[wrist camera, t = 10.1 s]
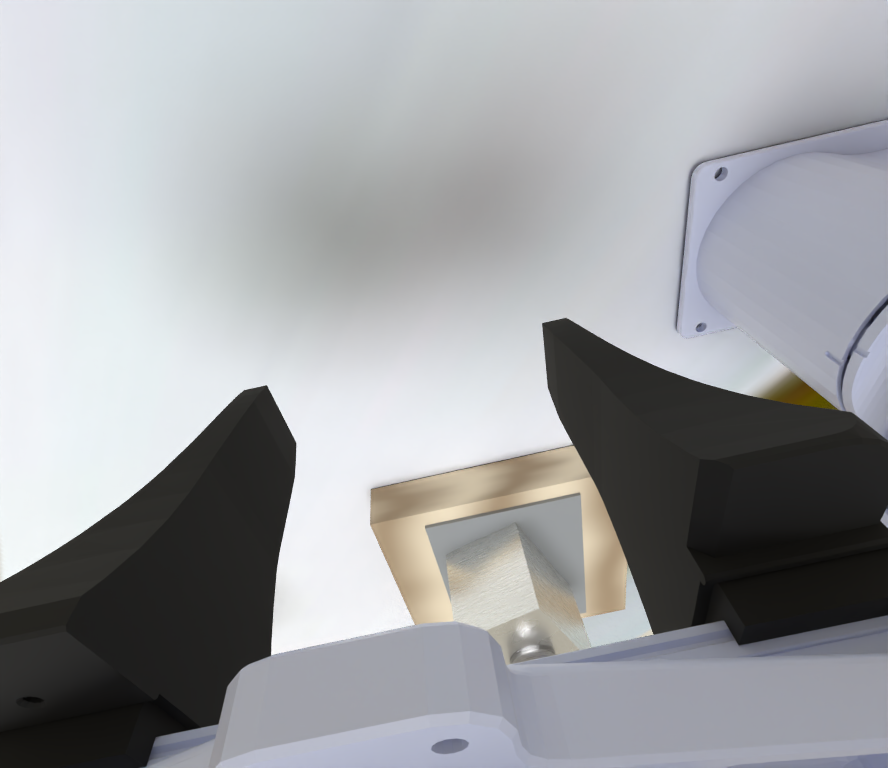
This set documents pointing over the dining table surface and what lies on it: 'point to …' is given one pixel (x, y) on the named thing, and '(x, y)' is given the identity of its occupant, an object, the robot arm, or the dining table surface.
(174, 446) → the dining table surface
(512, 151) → the dining table surface
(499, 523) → the stand
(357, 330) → the dining table surface
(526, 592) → the housing
